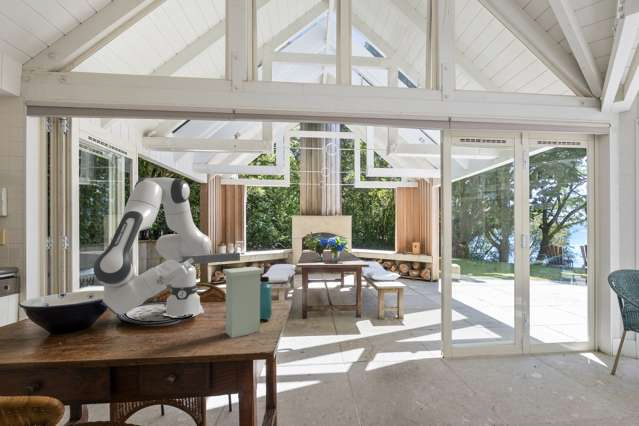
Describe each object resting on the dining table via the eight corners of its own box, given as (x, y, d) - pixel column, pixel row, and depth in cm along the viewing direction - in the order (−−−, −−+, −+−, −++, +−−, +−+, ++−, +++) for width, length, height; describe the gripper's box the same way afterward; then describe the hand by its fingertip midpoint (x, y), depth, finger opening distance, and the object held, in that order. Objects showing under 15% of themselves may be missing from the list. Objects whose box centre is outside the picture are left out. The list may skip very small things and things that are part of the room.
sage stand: (230, 339, 126) (230, 272, 127) (222, 332, 134) (223, 269, 134) (263, 331, 135) (263, 269, 135) (253, 325, 142) (254, 266, 142)
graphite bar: (182, 264, 119) (182, 256, 119) (180, 263, 121) (180, 255, 121) (239, 260, 132) (239, 253, 132) (237, 259, 134) (237, 252, 134)
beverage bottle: (268, 322, 146) (269, 278, 146) (254, 321, 147) (255, 277, 147) (273, 318, 152) (274, 275, 153) (260, 317, 154) (260, 275, 154)
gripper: (155, 277, 106) (194, 254, 113) (146, 269, 122) (180, 249, 129) (166, 293, 107) (203, 269, 115) (155, 282, 124) (188, 262, 131)
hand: (190, 258), depth 122 cm, fingers closed on graphite bar, 3 cm apart
